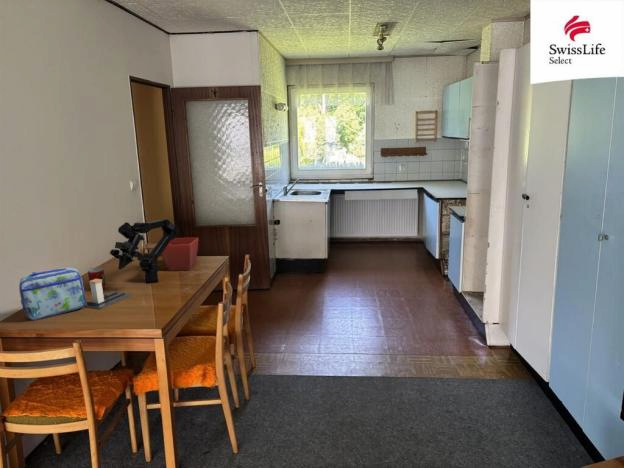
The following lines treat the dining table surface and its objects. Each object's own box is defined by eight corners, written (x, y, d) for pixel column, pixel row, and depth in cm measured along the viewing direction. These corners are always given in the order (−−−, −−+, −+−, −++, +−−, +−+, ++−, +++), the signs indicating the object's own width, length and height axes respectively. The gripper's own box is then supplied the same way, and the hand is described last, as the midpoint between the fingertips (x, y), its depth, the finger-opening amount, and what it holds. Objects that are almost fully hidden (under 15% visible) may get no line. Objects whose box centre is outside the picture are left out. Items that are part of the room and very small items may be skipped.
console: (114, 292, 246) (113, 288, 245) (131, 295, 241) (131, 290, 240) (82, 306, 228) (81, 301, 227) (100, 309, 223) (99, 304, 222)
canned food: (100, 291, 250) (97, 271, 247) (87, 290, 251) (84, 271, 249) (109, 286, 257) (106, 267, 255) (96, 286, 259) (93, 266, 256)
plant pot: (171, 263, 297) (168, 238, 293) (201, 262, 296) (198, 237, 292) (161, 272, 278) (157, 245, 274) (192, 272, 277) (189, 244, 273)
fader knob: (99, 299, 232) (95, 278, 230) (105, 300, 230) (102, 279, 228) (92, 302, 228) (88, 281, 226) (98, 303, 227) (95, 282, 224)
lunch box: (24, 323, 210) (16, 279, 205) (23, 316, 219) (15, 273, 214) (87, 309, 223) (81, 267, 219) (84, 303, 232) (78, 262, 228)
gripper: (109, 234, 245) (95, 260, 238) (136, 236, 237) (122, 263, 230) (123, 245, 254) (110, 270, 247) (149, 247, 246) (137, 273, 239)
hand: (119, 269), depth 240 cm, fingers closed
